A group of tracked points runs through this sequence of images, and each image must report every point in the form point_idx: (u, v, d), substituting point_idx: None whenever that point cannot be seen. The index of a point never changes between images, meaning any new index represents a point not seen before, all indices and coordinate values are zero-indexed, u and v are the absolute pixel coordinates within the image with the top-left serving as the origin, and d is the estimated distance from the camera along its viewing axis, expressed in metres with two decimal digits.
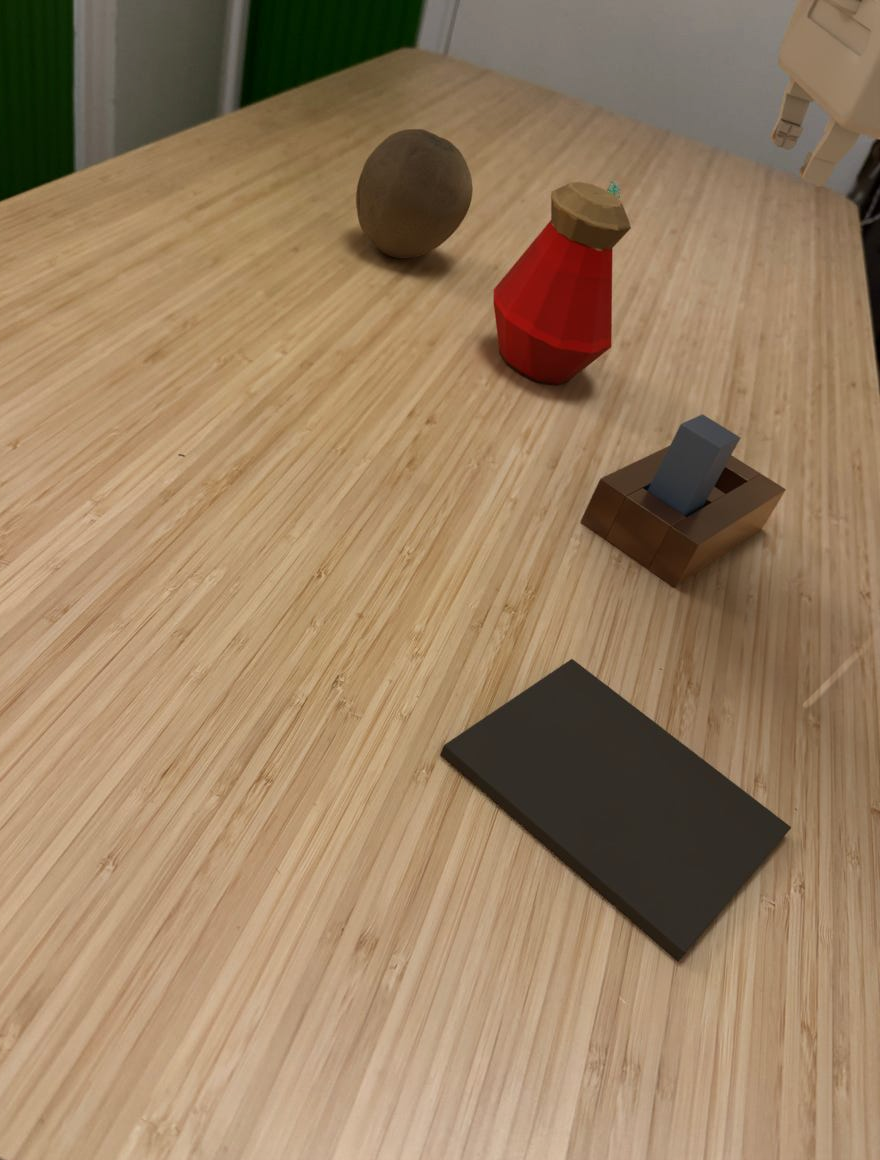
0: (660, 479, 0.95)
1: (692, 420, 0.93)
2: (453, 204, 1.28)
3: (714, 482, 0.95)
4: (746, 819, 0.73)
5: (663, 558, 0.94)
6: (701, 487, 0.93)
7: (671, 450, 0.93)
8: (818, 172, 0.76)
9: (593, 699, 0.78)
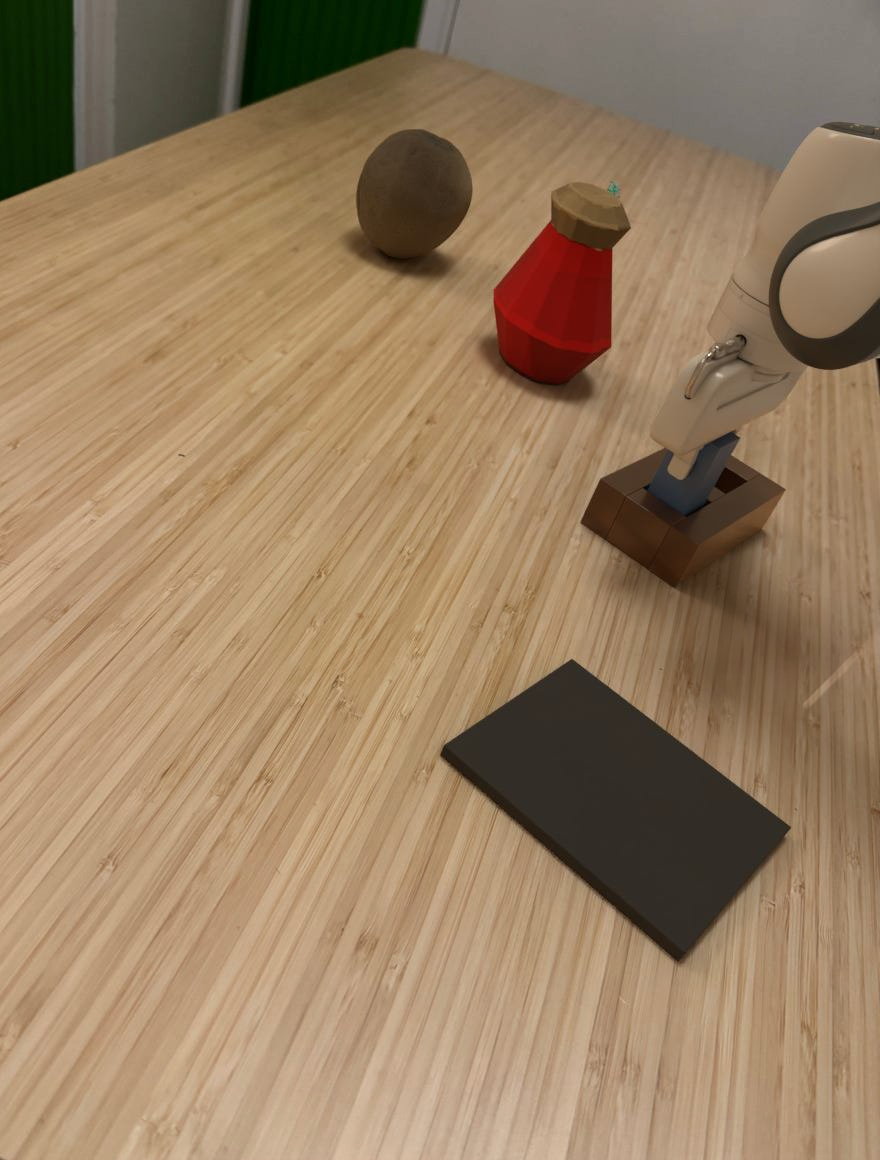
0: (660, 479, 0.95)
1: None
2: (453, 204, 1.28)
3: (714, 482, 0.95)
4: (746, 819, 0.73)
5: (663, 558, 0.94)
6: (701, 487, 0.93)
7: None
8: (677, 468, 0.92)
9: (593, 699, 0.78)
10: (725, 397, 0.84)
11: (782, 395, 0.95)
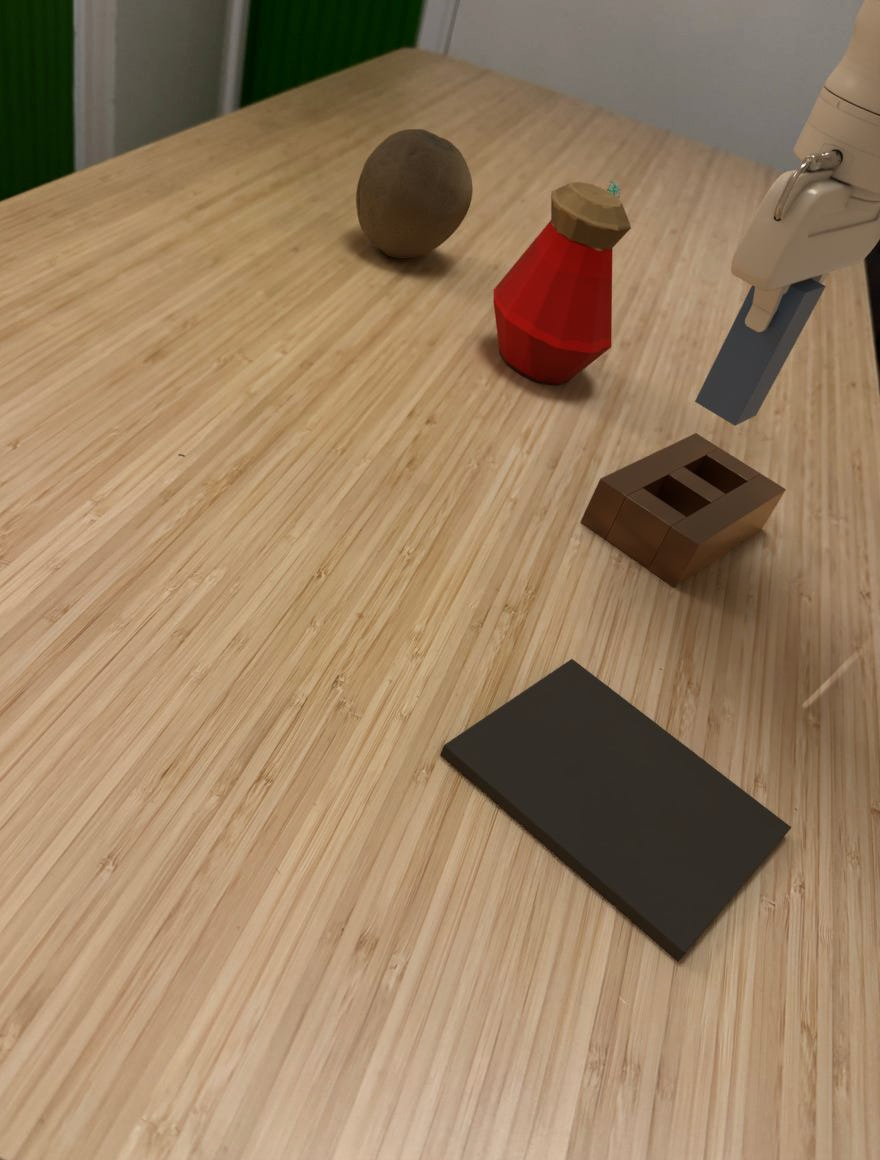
0: (734, 336, 0.85)
1: None
2: (453, 204, 1.28)
3: (794, 340, 0.86)
4: (746, 819, 0.73)
5: (663, 558, 0.94)
6: (781, 342, 0.84)
7: (748, 301, 0.84)
8: (757, 318, 0.82)
9: (593, 699, 0.78)
10: (817, 223, 0.75)
11: (870, 243, 0.86)
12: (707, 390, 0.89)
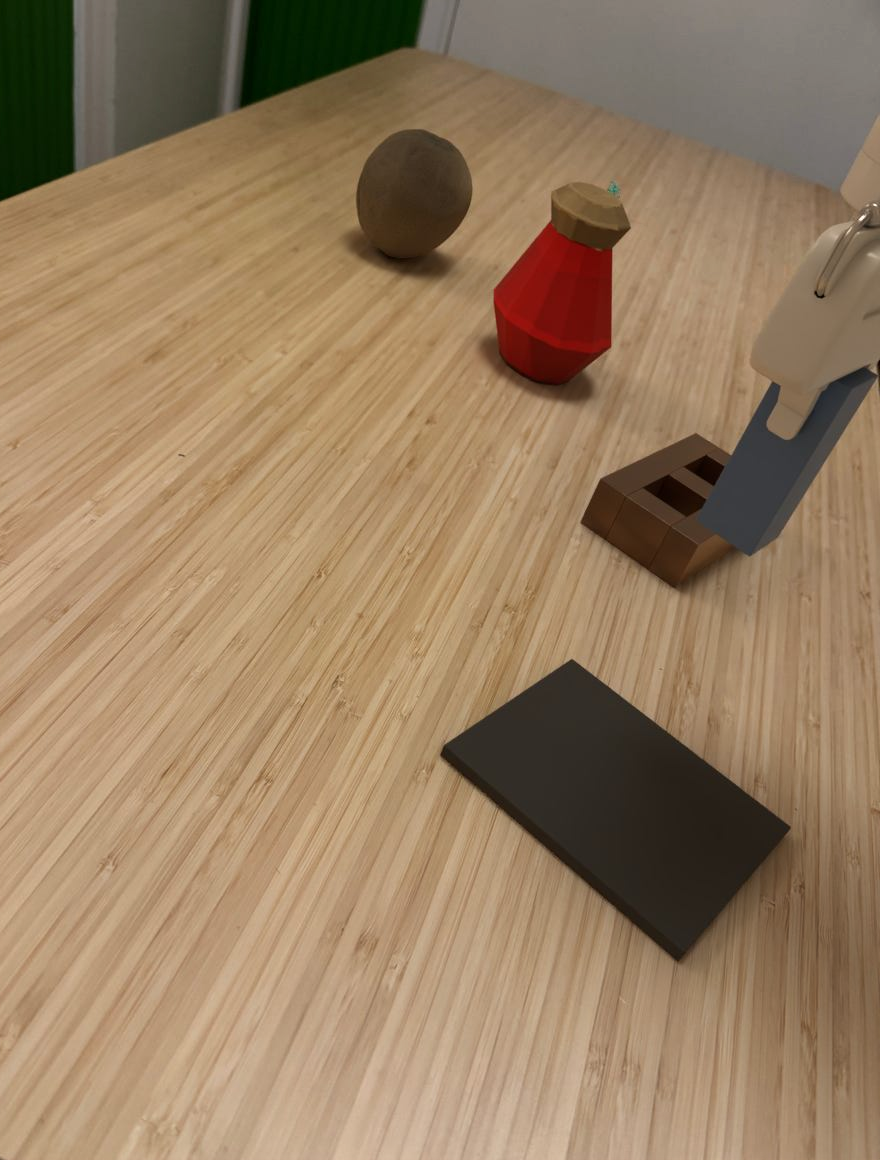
0: (751, 440, 0.62)
1: None
2: (453, 204, 1.28)
3: (832, 446, 0.63)
4: (746, 819, 0.73)
5: (663, 558, 0.94)
6: (816, 452, 0.61)
7: (770, 395, 0.61)
8: (783, 421, 0.59)
9: (593, 699, 0.78)
10: (876, 299, 0.52)
11: None
12: (713, 507, 0.66)
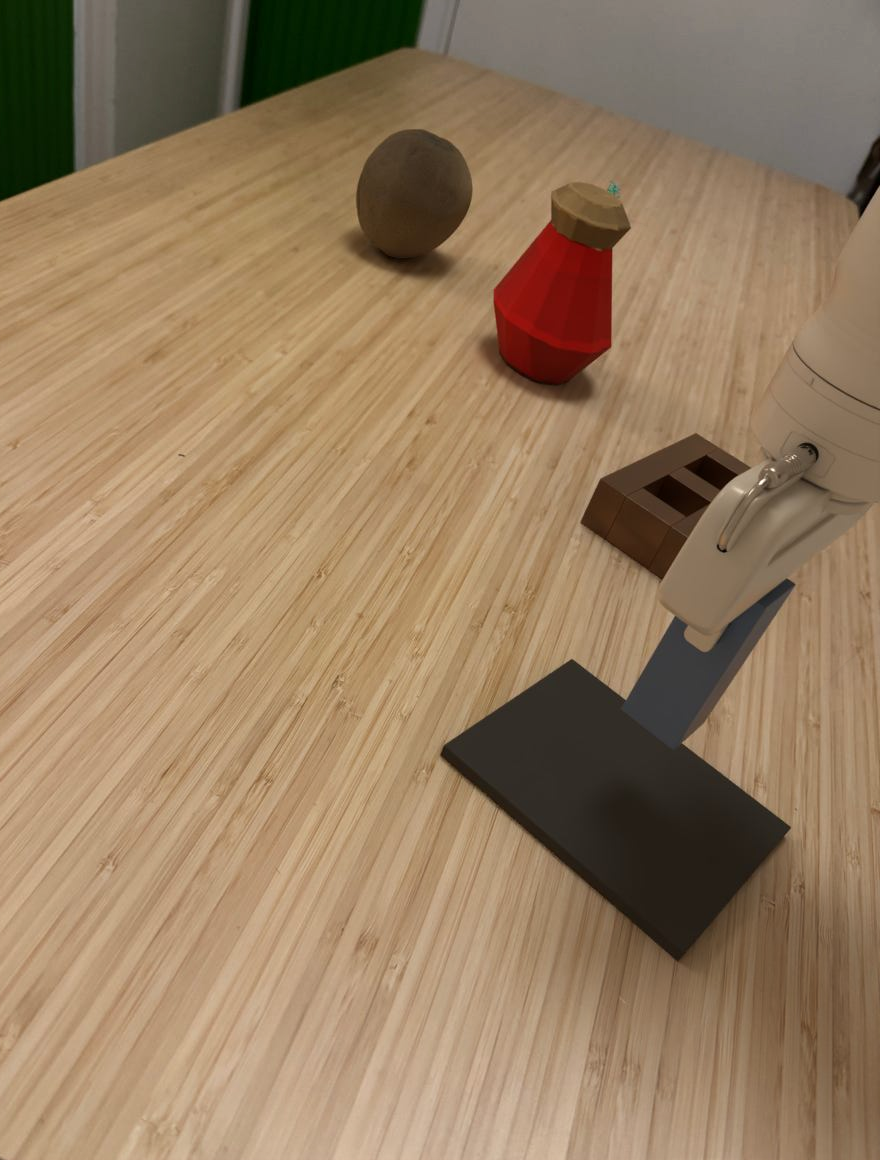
0: (671, 642, 0.62)
1: None
2: (453, 204, 1.28)
3: (753, 646, 0.63)
4: (746, 819, 0.73)
5: (663, 558, 0.94)
6: (734, 659, 0.61)
7: None
8: (700, 634, 0.59)
9: (593, 699, 0.78)
10: None
11: (858, 514, 0.63)
12: (636, 699, 0.65)
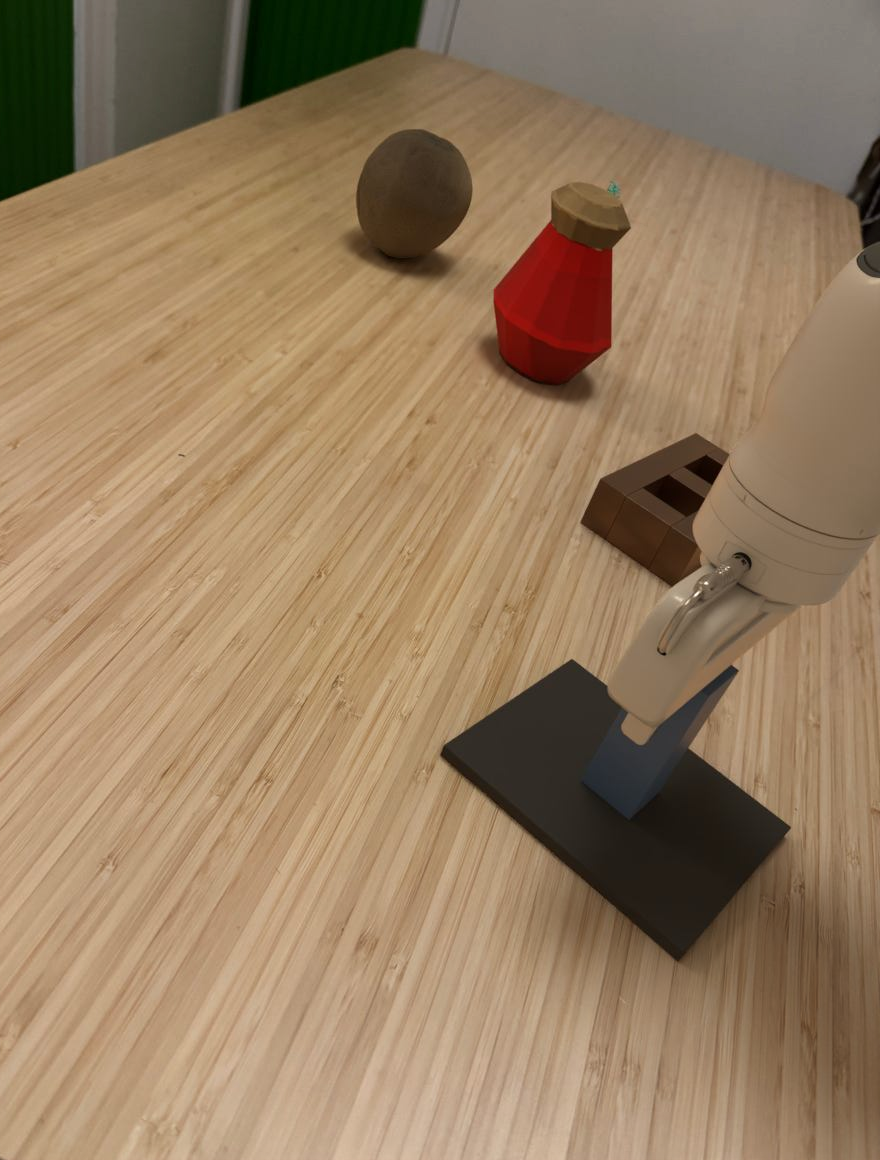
0: None
1: None
2: (453, 204, 1.28)
3: (701, 725, 0.67)
4: (746, 819, 0.73)
5: (663, 558, 0.94)
6: (682, 740, 0.65)
7: None
8: (635, 728, 0.62)
9: (593, 699, 0.78)
10: None
11: None
12: (594, 772, 0.70)
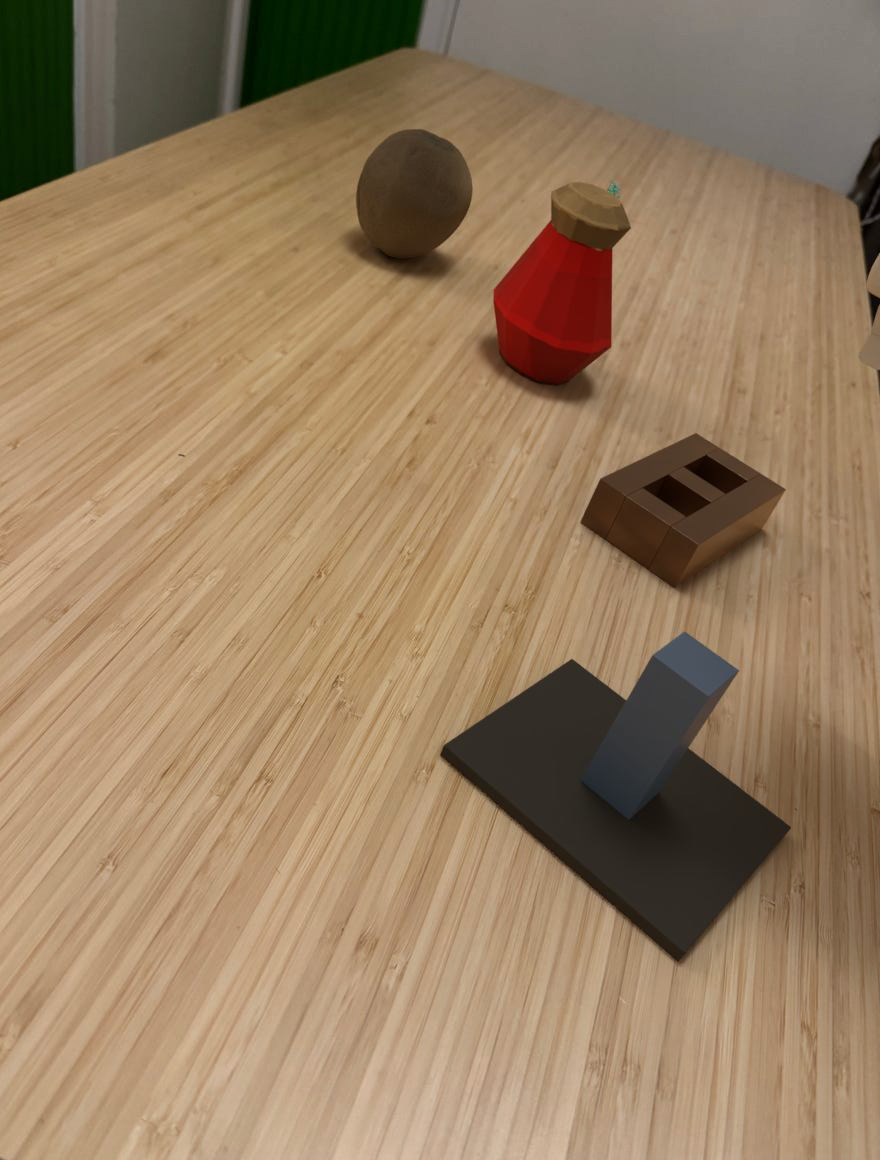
0: (625, 722, 0.67)
1: (669, 645, 0.65)
2: (453, 204, 1.28)
3: (701, 725, 0.67)
4: (746, 819, 0.73)
5: (663, 558, 0.94)
6: (682, 740, 0.65)
7: (639, 687, 0.65)
8: (876, 352, 0.62)
9: (593, 699, 0.78)
10: None
11: None
12: (594, 772, 0.70)
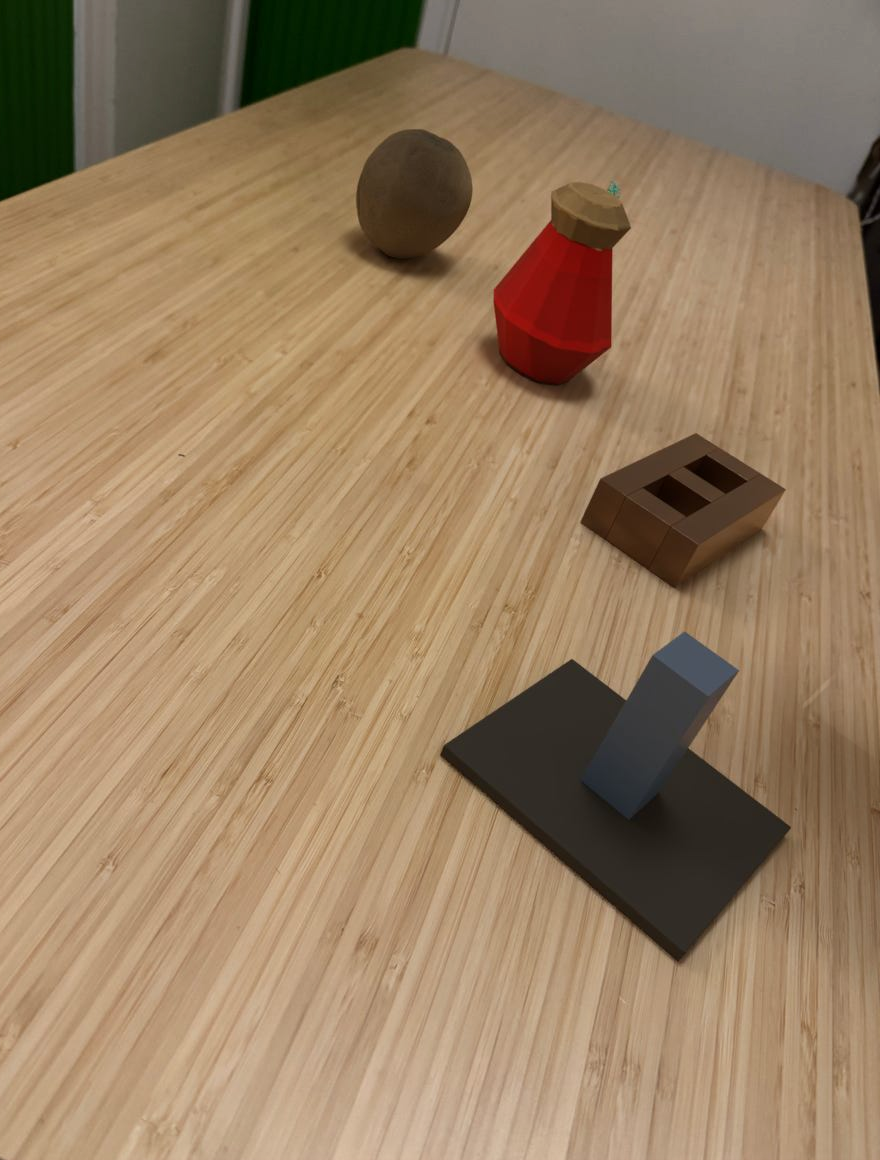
0: (625, 722, 0.67)
1: (669, 645, 0.65)
2: (453, 204, 1.28)
3: (701, 725, 0.67)
4: (746, 819, 0.73)
5: (663, 558, 0.94)
6: (682, 740, 0.65)
7: (639, 687, 0.65)
8: None
9: (593, 699, 0.78)
10: None
11: None
12: (594, 772, 0.70)
